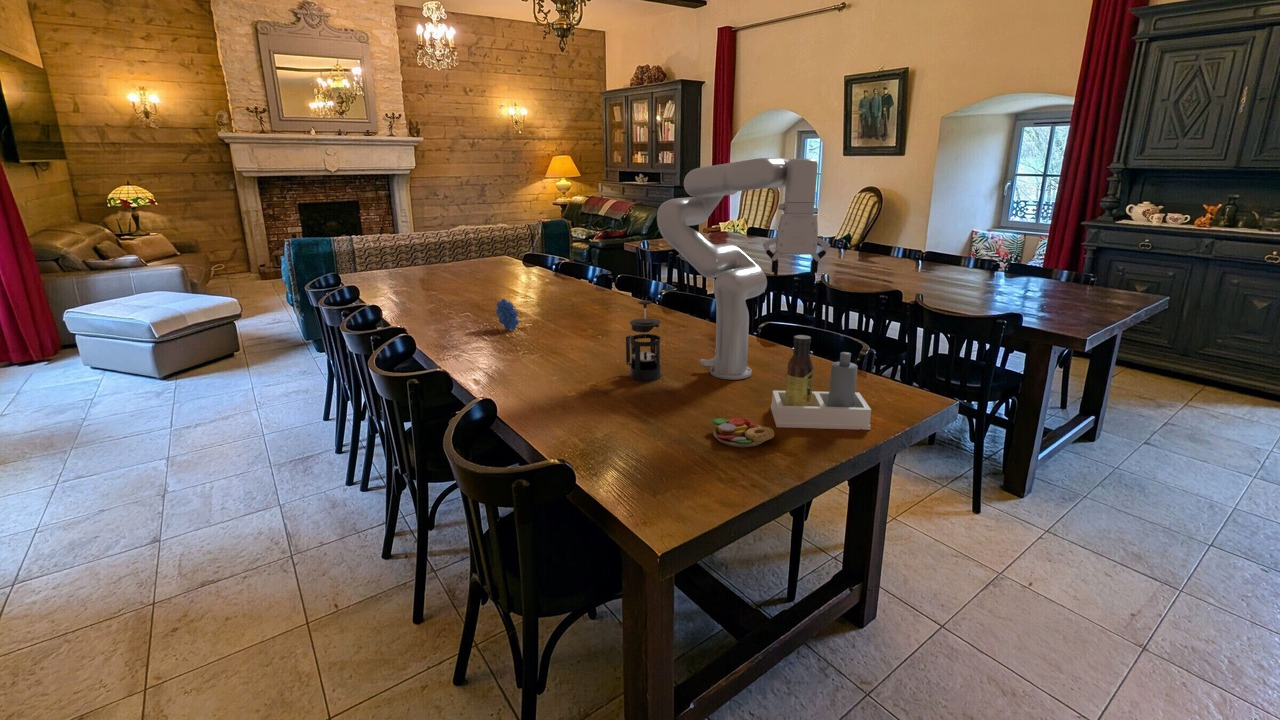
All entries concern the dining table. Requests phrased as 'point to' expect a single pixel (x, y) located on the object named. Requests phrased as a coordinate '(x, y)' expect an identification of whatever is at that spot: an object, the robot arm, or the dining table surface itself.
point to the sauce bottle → (800, 374)
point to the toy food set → (740, 432)
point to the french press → (645, 363)
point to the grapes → (507, 314)
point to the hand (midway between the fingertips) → (793, 275)
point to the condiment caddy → (827, 403)
